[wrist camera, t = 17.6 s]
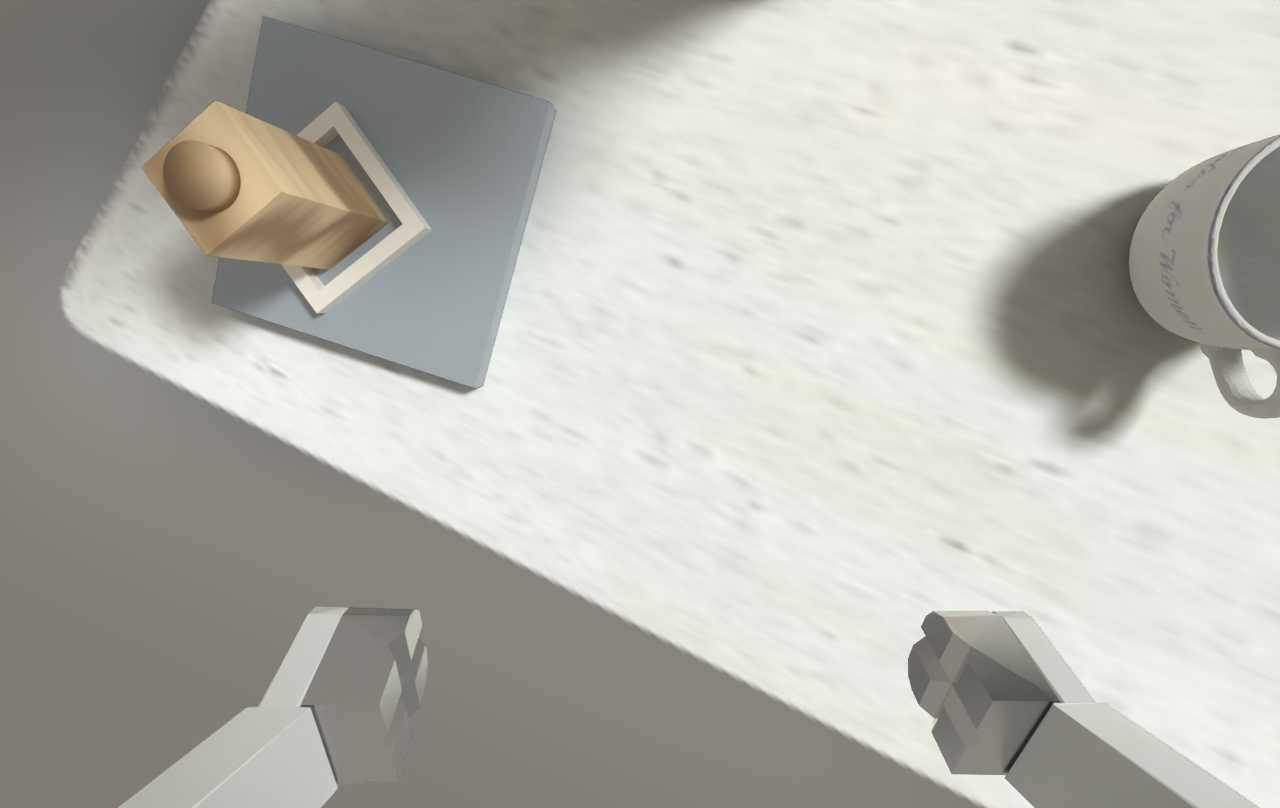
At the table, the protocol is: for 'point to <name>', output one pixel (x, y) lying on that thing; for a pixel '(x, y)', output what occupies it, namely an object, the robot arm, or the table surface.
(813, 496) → the table surface
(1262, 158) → the teacup
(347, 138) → the socket frame
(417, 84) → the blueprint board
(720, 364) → the table surface
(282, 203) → the oak pillar
